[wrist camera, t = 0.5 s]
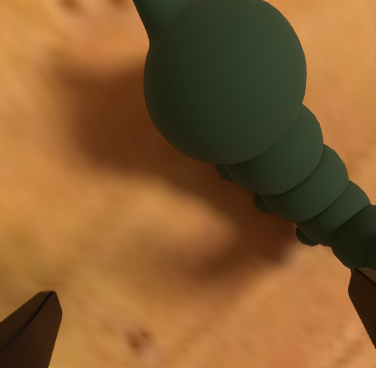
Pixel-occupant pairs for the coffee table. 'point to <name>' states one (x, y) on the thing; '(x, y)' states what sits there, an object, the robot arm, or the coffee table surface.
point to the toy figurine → (252, 116)
